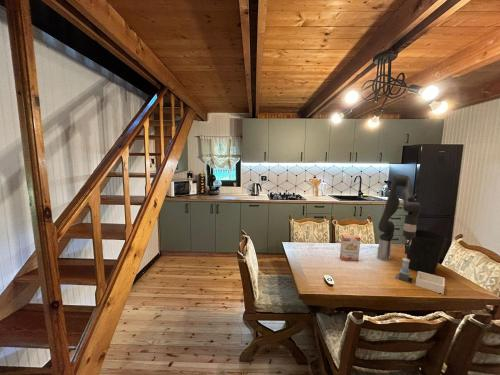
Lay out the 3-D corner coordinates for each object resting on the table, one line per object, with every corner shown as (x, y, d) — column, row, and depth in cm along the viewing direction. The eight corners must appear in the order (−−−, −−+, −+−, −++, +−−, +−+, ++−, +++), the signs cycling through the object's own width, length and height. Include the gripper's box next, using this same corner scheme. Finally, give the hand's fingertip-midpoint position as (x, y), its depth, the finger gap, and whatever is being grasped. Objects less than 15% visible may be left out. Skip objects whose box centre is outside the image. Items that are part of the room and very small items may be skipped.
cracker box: (341, 260, 204) (343, 236, 201) (339, 257, 210) (341, 234, 207) (358, 261, 202) (360, 237, 200) (356, 258, 208) (358, 235, 206)
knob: (398, 278, 174) (401, 259, 172) (400, 275, 178) (402, 257, 176) (408, 281, 170) (410, 261, 168) (409, 278, 174) (411, 259, 173)
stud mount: (394, 279, 173) (395, 273, 173) (396, 274, 181) (397, 268, 181) (411, 284, 167) (412, 277, 167) (412, 279, 175) (413, 272, 174)
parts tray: (415, 286, 164) (416, 278, 164) (417, 278, 176) (418, 271, 175) (443, 295, 155) (444, 286, 154) (443, 285, 167) (444, 277, 166)
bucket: (424, 279, 175) (429, 239, 171) (392, 263, 201) (396, 228, 197) (451, 275, 182) (457, 237, 178) (417, 260, 208) (421, 226, 205)
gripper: (404, 226, 177) (402, 247, 179) (401, 231, 166) (399, 253, 168) (416, 228, 173) (414, 250, 175) (414, 233, 162) (412, 256, 164)
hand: (407, 251), depth 172 cm, fingers open, 8 cm apart
